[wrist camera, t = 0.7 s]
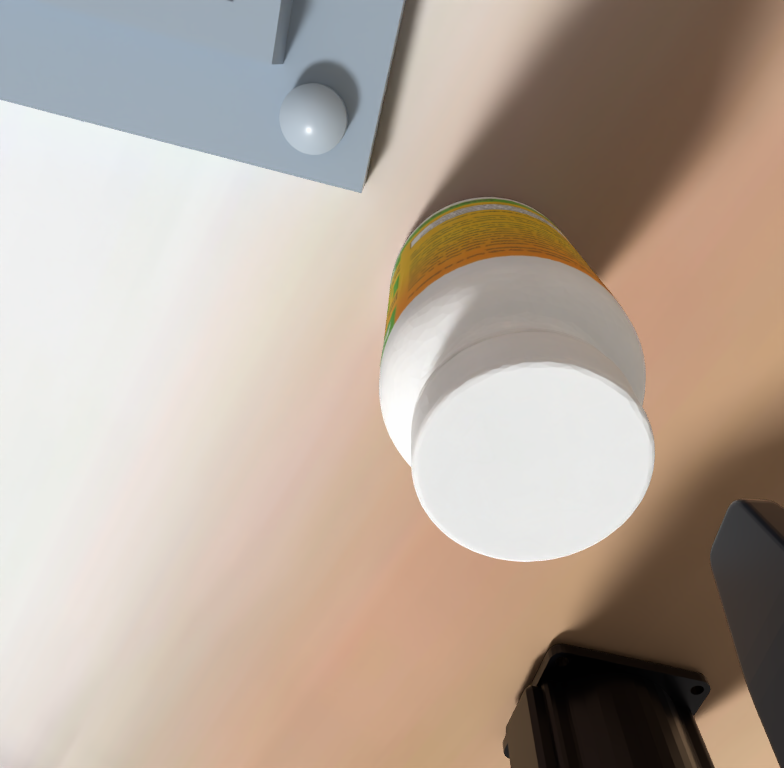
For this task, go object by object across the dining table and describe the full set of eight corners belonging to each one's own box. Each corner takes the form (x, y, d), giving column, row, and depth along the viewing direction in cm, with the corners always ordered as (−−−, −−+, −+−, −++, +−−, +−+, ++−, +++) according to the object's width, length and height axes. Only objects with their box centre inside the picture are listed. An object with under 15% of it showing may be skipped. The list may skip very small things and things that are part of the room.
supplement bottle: (364, 230, 19) (316, 376, 10) (549, 165, 18) (672, 264, 9) (424, 390, 21) (426, 623, 12) (592, 340, 20) (724, 554, 11)
